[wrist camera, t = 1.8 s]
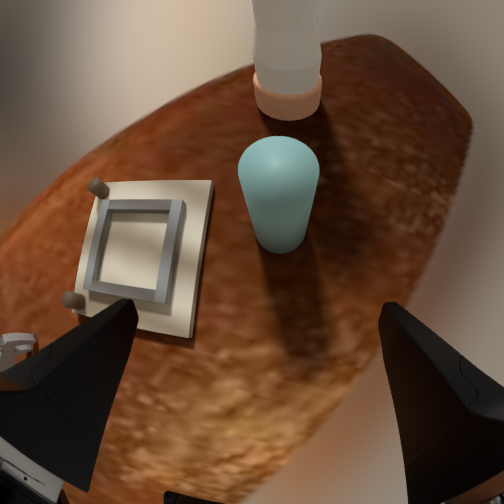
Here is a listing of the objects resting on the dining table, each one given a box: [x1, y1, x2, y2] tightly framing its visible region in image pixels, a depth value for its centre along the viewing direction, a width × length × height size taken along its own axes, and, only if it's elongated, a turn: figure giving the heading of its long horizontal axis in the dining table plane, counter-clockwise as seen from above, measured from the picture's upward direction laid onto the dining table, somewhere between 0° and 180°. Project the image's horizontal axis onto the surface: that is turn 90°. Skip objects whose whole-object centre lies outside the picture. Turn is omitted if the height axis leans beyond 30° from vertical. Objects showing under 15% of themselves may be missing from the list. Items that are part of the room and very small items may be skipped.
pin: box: [238, 136, 319, 254], centre depth 19 cm, size 4×4×10 cm
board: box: [62, 177, 214, 338], centre depth 24 cm, size 14×13×3 cm
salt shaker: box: [252, 0, 322, 121], centre depth 19 cm, size 7×7×19 cm
